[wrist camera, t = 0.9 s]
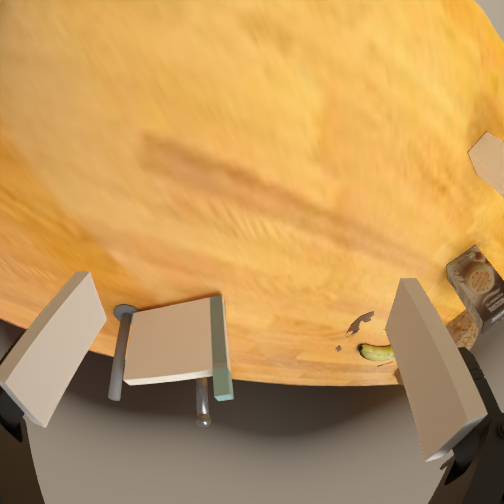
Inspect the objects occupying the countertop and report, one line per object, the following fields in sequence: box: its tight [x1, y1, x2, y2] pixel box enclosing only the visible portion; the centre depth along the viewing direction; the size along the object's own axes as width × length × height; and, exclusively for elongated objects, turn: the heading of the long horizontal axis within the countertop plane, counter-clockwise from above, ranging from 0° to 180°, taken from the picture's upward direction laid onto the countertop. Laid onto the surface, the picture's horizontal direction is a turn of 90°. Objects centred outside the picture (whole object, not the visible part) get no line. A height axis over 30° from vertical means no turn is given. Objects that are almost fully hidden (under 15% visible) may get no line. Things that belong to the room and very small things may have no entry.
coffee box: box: [446, 246, 504, 334], centre depth 45 cm, size 9×6×16 cm
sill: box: [114, 304, 139, 324], centre depth 51 cm, size 20×5×1 cm, turn 57°
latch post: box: [196, 377, 211, 427], centre depth 49 cm, size 4×4×18 cm
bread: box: [395, 309, 479, 385], centre depth 72 cm, size 36×11×10 cm, turn 155°
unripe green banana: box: [336, 312, 395, 367], centre depth 67 cm, size 35×27×4 cm
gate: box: [108, 295, 234, 401], centre depth 41 cm, size 19×2×17 cm, turn 102°
